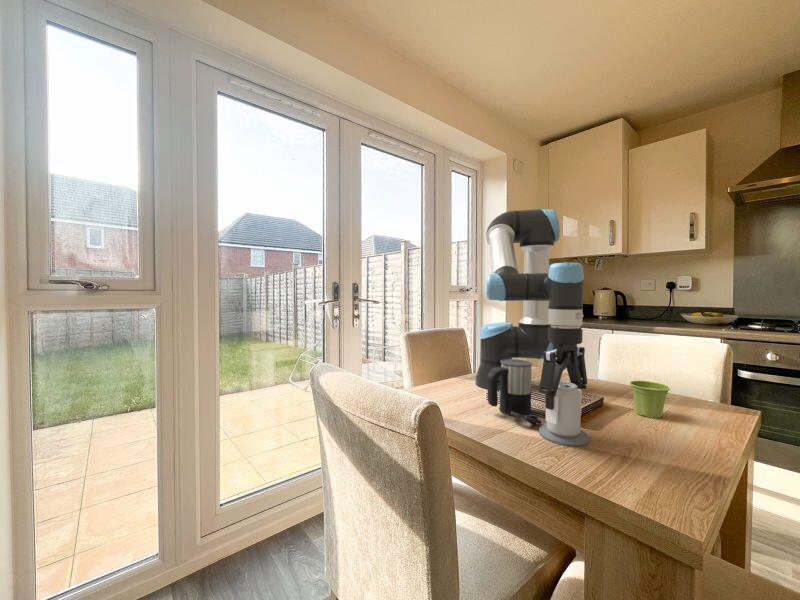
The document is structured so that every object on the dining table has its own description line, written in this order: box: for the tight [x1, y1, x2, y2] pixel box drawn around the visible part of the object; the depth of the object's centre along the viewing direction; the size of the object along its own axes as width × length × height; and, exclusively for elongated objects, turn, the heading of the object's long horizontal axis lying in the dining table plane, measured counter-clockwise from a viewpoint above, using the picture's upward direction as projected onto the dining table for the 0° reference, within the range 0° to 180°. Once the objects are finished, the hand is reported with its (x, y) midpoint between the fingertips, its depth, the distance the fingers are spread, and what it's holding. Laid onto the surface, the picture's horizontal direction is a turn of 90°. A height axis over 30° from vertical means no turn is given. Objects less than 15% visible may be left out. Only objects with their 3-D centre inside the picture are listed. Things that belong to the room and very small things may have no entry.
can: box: [546, 380, 582, 438], centre depth 83 cm, size 8×8×12 cm
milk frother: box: [487, 358, 542, 426], centre depth 96 cm, size 14×16×15 cm
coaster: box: [539, 423, 590, 447], centre depth 83 cm, size 11×11×1 cm
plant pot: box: [629, 380, 671, 419], centre depth 97 cm, size 9×9×9 cm
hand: (563, 417), depth 83 cm, fingers open, 9 cm apart
